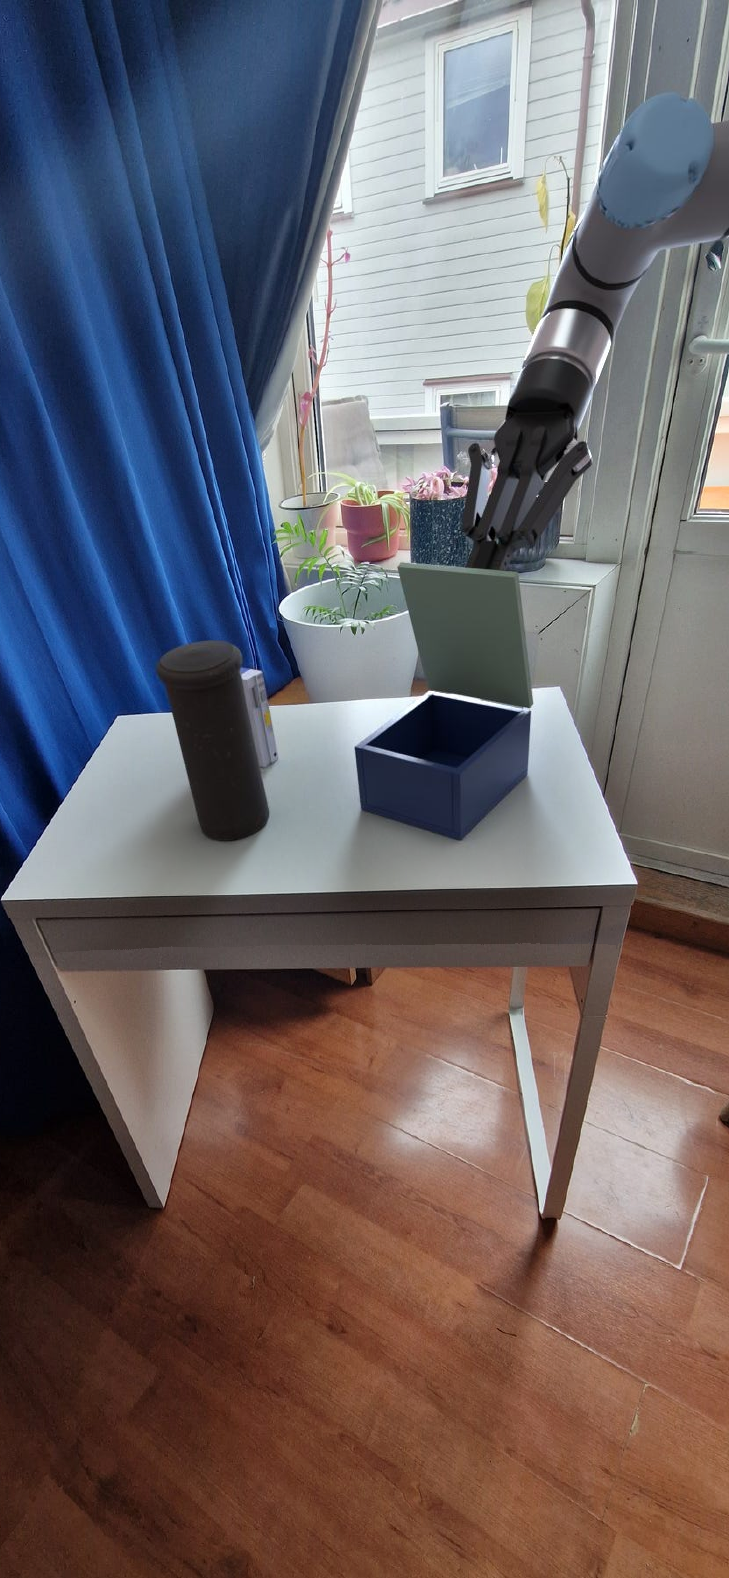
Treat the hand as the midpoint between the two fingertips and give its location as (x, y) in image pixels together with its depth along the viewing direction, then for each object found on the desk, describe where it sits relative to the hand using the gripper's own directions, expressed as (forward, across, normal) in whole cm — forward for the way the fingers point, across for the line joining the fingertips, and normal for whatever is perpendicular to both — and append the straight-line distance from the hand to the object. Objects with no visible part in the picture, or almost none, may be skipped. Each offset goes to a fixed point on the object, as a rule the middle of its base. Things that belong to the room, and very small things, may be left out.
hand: (469, 609), depth 76 cm
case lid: (+3, 0, -1) cm, 3 cm away
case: (+17, 0, -9) cm, 19 cm away
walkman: (+20, +27, -6) cm, 34 cm away
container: (+29, +18, +2) cm, 34 cm away
